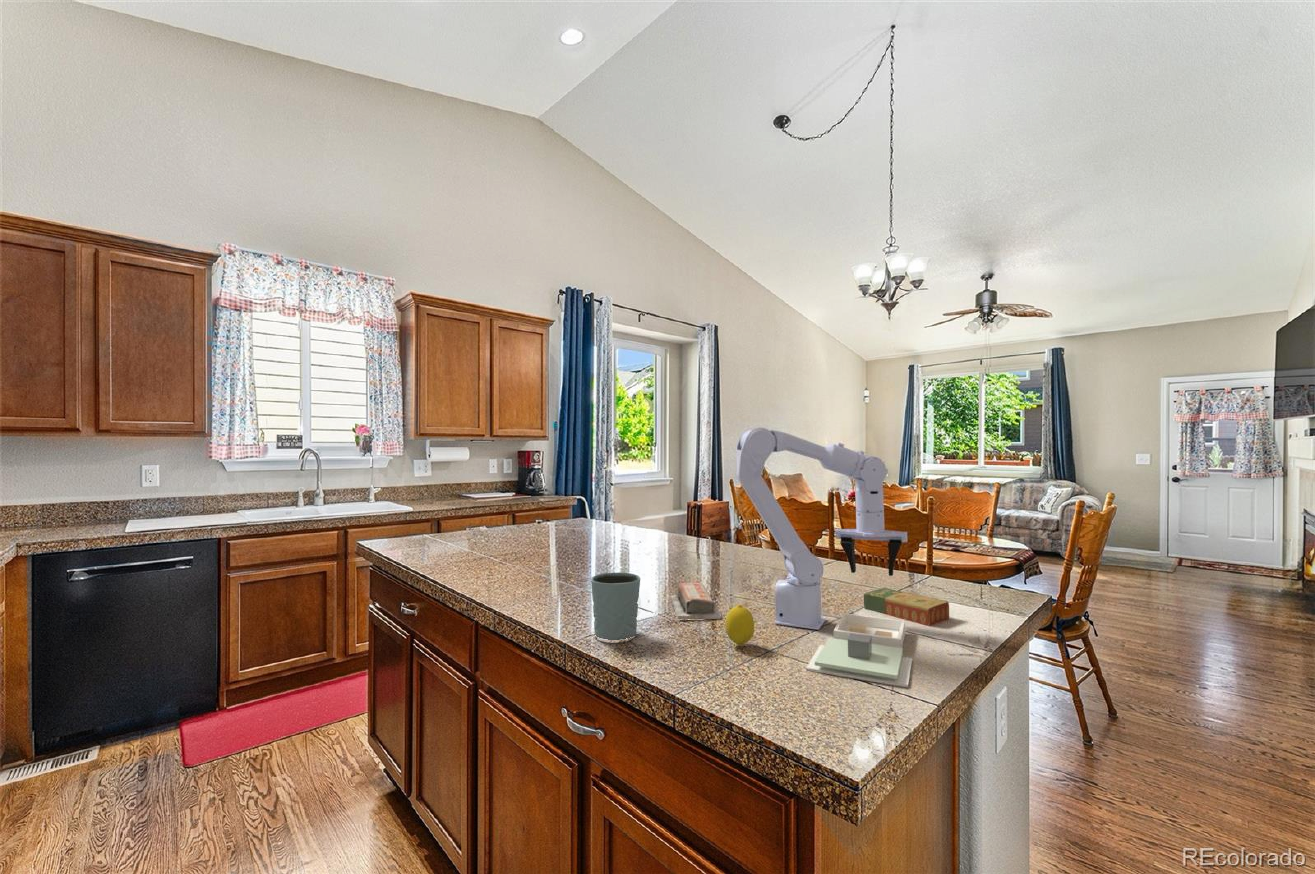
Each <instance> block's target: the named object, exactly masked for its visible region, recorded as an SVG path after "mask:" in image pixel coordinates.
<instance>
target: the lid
mask: <svg viewBox="0 0 1315 874" xmlns="http://www.w3.org/2000/svg"><path fill="white" fill-rule="evenodd" d="M823 645H824V647H823V649H822V650H821V652H820V654H819V655H818V657H817V659H816V661H815V666H821V667H826V668H829V669H835V670H841V671H847V672H853V673H859V674H865V675H871V676H877V677H883V678H893V679H898V674H899V669H900V664H901V659H902V657H903V652H904V648H903V647H902V648H898V647H891V646H884V645H877V644H872V638H871V636H867V635H860V634H853V633H851V634H850V636H849V638H848V640H842V639H835V638H834V637H828V638H827V640H826V642H825V643H824V644H823Z"/></svg>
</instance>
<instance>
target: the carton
mask: <svg viewBox="0 0 1315 874" xmlns="http://www.w3.org/2000/svg"><path fill="white" fill-rule="evenodd" d="M863 606H864V607H863V609H865V610H868V611H872V612H876V613H879V614H882V615H886V616H890V617H893V618H898V619H899V620H904V621H908V622H912V623H916V624H919V625H923V626H927V627H931V626H933V625H936V623H937V624H939V623H942V622H945V621H948V620H950V603H949V601H946V600H942V599H937V598H933V597H928V596H922V595H919V594H914V593H911V592H910V593H909V592H905V591H900V590H896V589H892V588H887V587H881V588H878V589H874V590H871V591H868V592H864V594H863Z"/></svg>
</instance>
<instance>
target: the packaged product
mask: <svg viewBox="0 0 1315 874" xmlns="http://www.w3.org/2000/svg"><path fill="white" fill-rule="evenodd" d="M670 599H671V601H672V606H673V605H674V607H673V611H674V610H675V611H674V613H675V612H676V614H675V617H676V618H678V619H717V620H721V619H722V614H721V613H720V611H719V610H718V607H717V606H716V605H715V602H714V601H713V598H712V597H711V595H710V594H709V592H708V590H707V588H706V587H705V585H704V584H703V583H700V582H697V581H696V582H680V583H678V585H677V594H674V593H672V594H670ZM678 619H677V620H678Z"/></svg>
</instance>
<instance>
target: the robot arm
mask: <svg viewBox="0 0 1315 874" xmlns="http://www.w3.org/2000/svg"><path fill="white" fill-rule="evenodd" d="M735 449H736V478H737V480H738V482H739V484H740V485H741V487H742V488H743V489H744V491H745V493H746V495H747V496H748V498H749V499H750V501H751V504H752V505H753V506H754V508H755V509H756V511H757V513H758V514H759V516H760V517H761V519H762V521H763V522H764V524H765V526H766V528H767V529H768V530H769V532H770V534H771V536H772V538H774V541H775V542H776V544H777V545H778V548H779V551H780V553H781V554H782V556H783V557H782V558H783V564H784V565H783V566H784V567H785V570H787V571H788V573H787V576H786V578H785V579H778V580H777V581H776V584H775V591H774V606H775V607H774V608H775V610H774V611H775V621H774V624H775V625H780V626H781V625H782V626H788V627H796V628H803V629H804V628H805V629H810V630H818V631H819V630H821V627H822V626H823V625H824V623H825V622H826V620H827V617H826V616H822V593H821V592H822V589H821V588H822V585H821V582H822V581H821V579H822V577H823V575H824V570H825V569H824V564H823V562H822V561H821V559H820V558H819V557H818V556H816V555H814V554H813V553H812V552H811V551H810V549H809V548H808V547H807V545H806V544H805V543H804V541H803V540H802V539H801V538H800V536H799V534H798V533H797V532H796V530H795V528H794V526H793V525H792V524H791V522H790V519H788V517H787V515H786V513H785V511H784V510H783V508H782V507H781V505H780V504H779V502H778V501H777V498H776V497H775V495H774V494H773V492H772V490H771V489H770V487H769V486H768V484H767V482H766V480H764V477H763V475H762V473H763V470H764V468H765V463H766V461H767V460H768V459H769V458H770V456H771V455H772V453H778V452H779V453H780V452H785V451H786V452H791V453H794V454H797V455H799V456H804V457H807V458H810V459H814V460H817V461H819V463H820V464H821V466H822V468H823V469H825V470H828V471H831V472H834V473H838V474H840V475H843V476H846V477H849V478H853V479H854V483H855V484H854V485H855V486H854V487H855V488H854V489H855V490H854V492H855V518H856V519H855V522H856V523H855V524H856V525H855V526H856V528H837V529H835V532H834V533H835V539H836V540H840V541H839V542H840V543H839V544H840V546H841V547H842V549H843V552H844V553H845V555H846V558H847V561H848V564H849V568H850V572H851V574H855V573H856V571H857V563H856V554H855V553H856V546H855V545H856V540H861V541H862V540H864V541H865V540H866V541H884V542H888V543H887V549H888V550H887V551H888V576H890V577H893V576H894V570H895V569H894V567H895V563H896V560H897V557H898V554H899V551H900V549H901V547H902V544H903V543H908V531H898V530H887V529H885V506H884V485H883V484H884V480H886V477H887V476H888V470H889V469H888V468H886V465H885V462H884V461H883V460H882V459H881V458H879V457H878V456H874V455H873V456H868V455H866V453H865V451H862V450H858V451H856V450H854V449H850V448H846V447H845V444H844V443H840V442H836V444H835V443H830V444H828V445H826V446H822V445H821V444H820V445H819V444H817V443H815V442H812V441H809V440H806V439H805V438H804V439H803V438H801V437H798V436H797V435H796V436H795V435H792V434H790V433H787V432H784V431H779V430H774V429H767V428H765V427H756V428H749V429H746V430H745V431H744V432H742V433H741V435H740V437H739V439H738V442H737V444H736V446H735Z"/></svg>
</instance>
